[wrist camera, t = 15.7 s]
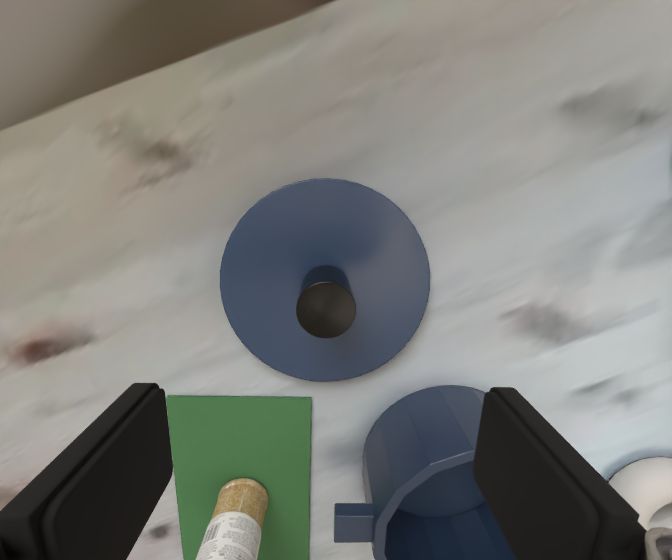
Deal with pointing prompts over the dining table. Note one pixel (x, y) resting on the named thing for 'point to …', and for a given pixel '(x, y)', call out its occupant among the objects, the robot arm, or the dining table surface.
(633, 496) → the donut
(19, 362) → the dining table surface
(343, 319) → the lid
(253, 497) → the sprinkles bottle
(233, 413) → the green flat rectangular board
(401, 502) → the pot
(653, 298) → the dining table surface
